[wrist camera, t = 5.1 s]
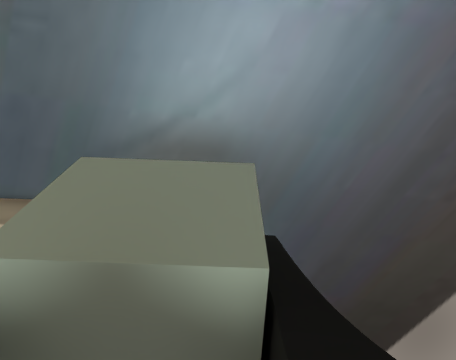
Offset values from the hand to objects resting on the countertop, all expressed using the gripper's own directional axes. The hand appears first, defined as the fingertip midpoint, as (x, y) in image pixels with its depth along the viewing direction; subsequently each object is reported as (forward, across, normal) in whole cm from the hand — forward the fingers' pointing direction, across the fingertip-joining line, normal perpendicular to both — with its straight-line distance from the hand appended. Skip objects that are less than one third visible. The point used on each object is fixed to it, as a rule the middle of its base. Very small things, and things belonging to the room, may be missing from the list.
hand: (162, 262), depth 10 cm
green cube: (+1, 0, 0) cm, 1 cm away
